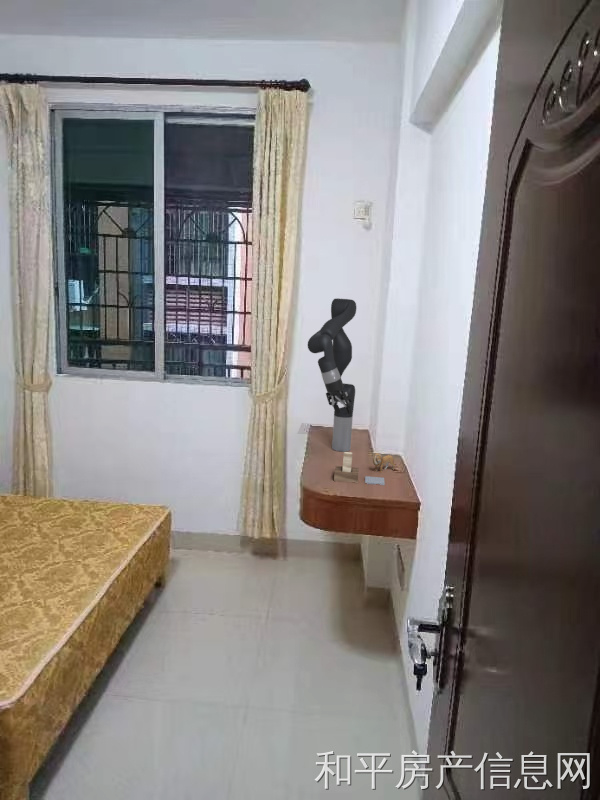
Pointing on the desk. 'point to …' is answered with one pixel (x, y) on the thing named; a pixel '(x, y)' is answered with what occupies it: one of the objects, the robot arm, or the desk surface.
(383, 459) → the lion figurine
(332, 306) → the robot arm
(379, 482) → the slate mat
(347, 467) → the birch peg
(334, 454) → the desk surface
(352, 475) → the socket block
